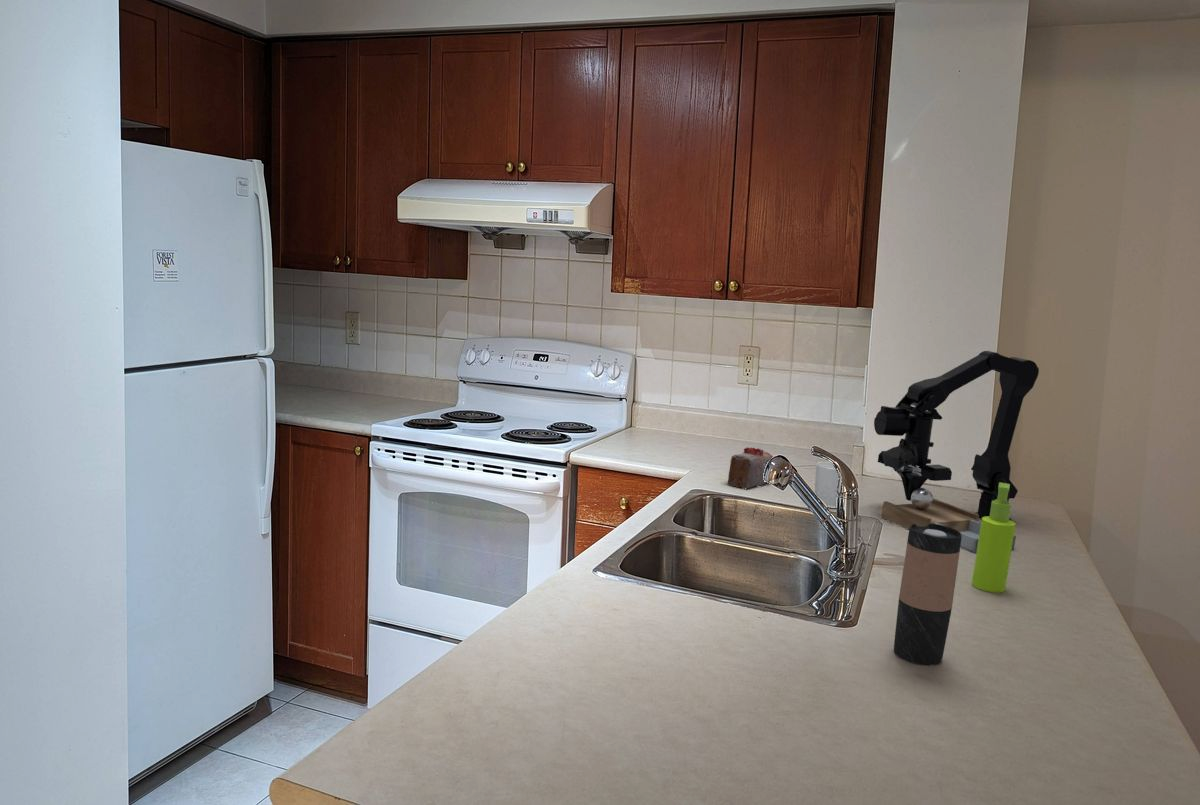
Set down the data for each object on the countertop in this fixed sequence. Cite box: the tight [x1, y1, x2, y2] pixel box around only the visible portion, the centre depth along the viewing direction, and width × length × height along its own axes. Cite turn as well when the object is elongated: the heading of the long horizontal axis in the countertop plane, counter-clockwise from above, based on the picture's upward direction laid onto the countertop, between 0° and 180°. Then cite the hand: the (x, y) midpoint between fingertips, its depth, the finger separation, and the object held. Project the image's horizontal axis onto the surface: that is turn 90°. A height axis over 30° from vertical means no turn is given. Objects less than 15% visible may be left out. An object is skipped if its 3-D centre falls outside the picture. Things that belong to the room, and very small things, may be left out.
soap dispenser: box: [971, 482, 1016, 594], centre depth 174 cm, size 6×7×20 cm
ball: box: [910, 487, 934, 509], centre depth 217 cm, size 5×5×5 cm
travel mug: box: [893, 523, 962, 666], centre depth 139 cm, size 8×8×20 cm
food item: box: [727, 446, 773, 489], centre depth 240 cm, size 14×8×10 cm, turn 143°
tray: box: [934, 520, 1017, 554], centre depth 204 cm, size 12×12×3 cm
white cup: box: [814, 461, 850, 507], centre depth 225 cm, size 8×8×10 cm
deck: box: [881, 497, 980, 532], centre depth 215 cm, size 16×14×4 cm
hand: (909, 500), depth 221 cm, fingers closed
